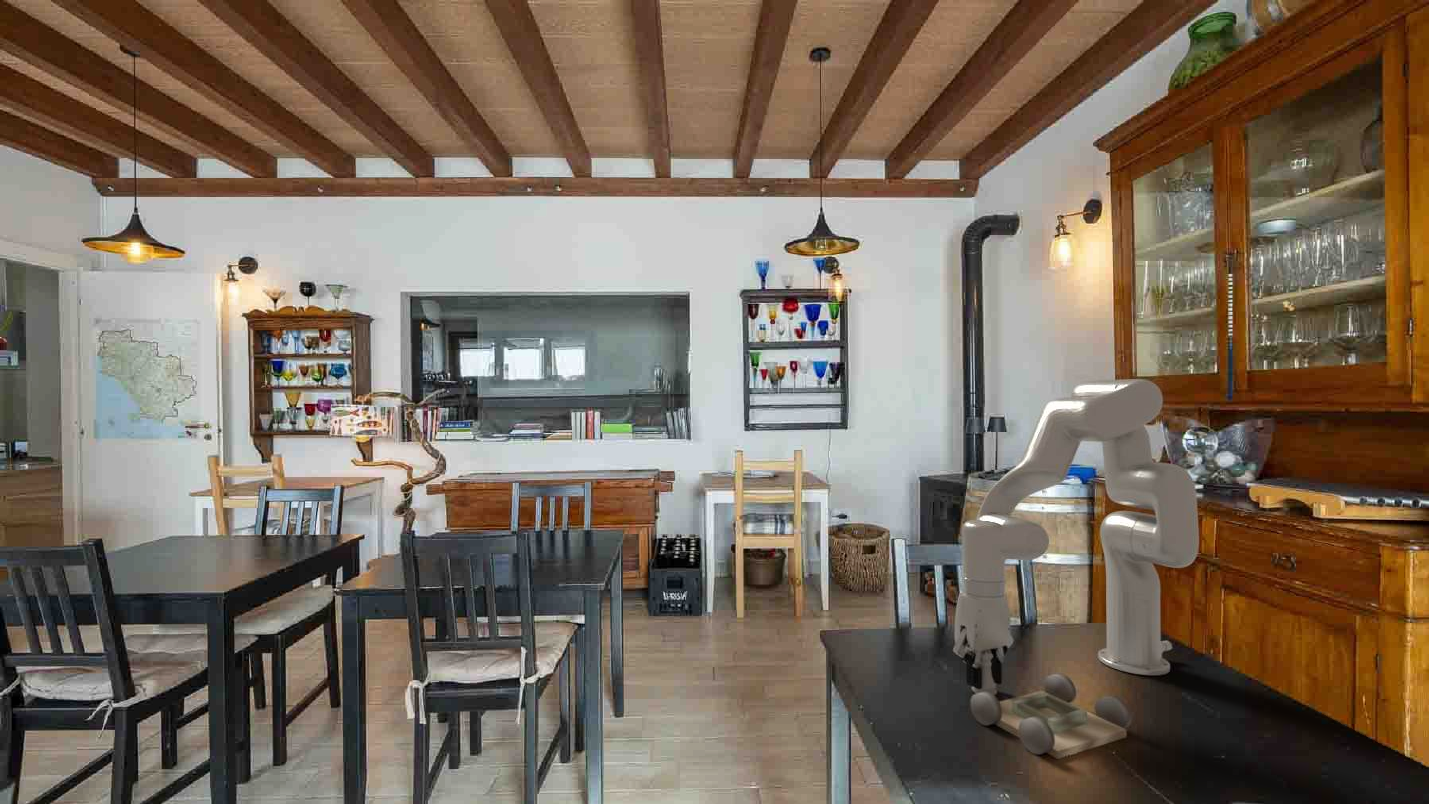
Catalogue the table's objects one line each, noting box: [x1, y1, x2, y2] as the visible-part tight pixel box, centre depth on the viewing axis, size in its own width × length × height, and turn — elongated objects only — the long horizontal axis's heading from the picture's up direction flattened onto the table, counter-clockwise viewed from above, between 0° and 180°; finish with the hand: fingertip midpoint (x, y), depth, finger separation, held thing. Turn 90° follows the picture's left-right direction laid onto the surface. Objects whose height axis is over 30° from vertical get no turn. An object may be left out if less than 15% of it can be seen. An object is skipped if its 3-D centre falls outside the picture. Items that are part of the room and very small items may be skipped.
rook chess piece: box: [971, 649, 998, 696], centre depth 124 cm, size 4×4×8 cm
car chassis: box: [969, 673, 1132, 760], centre depth 111 cm, size 20×16×5 cm
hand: (984, 682), depth 124 cm, fingers closed on rook chess piece, 4 cm apart
